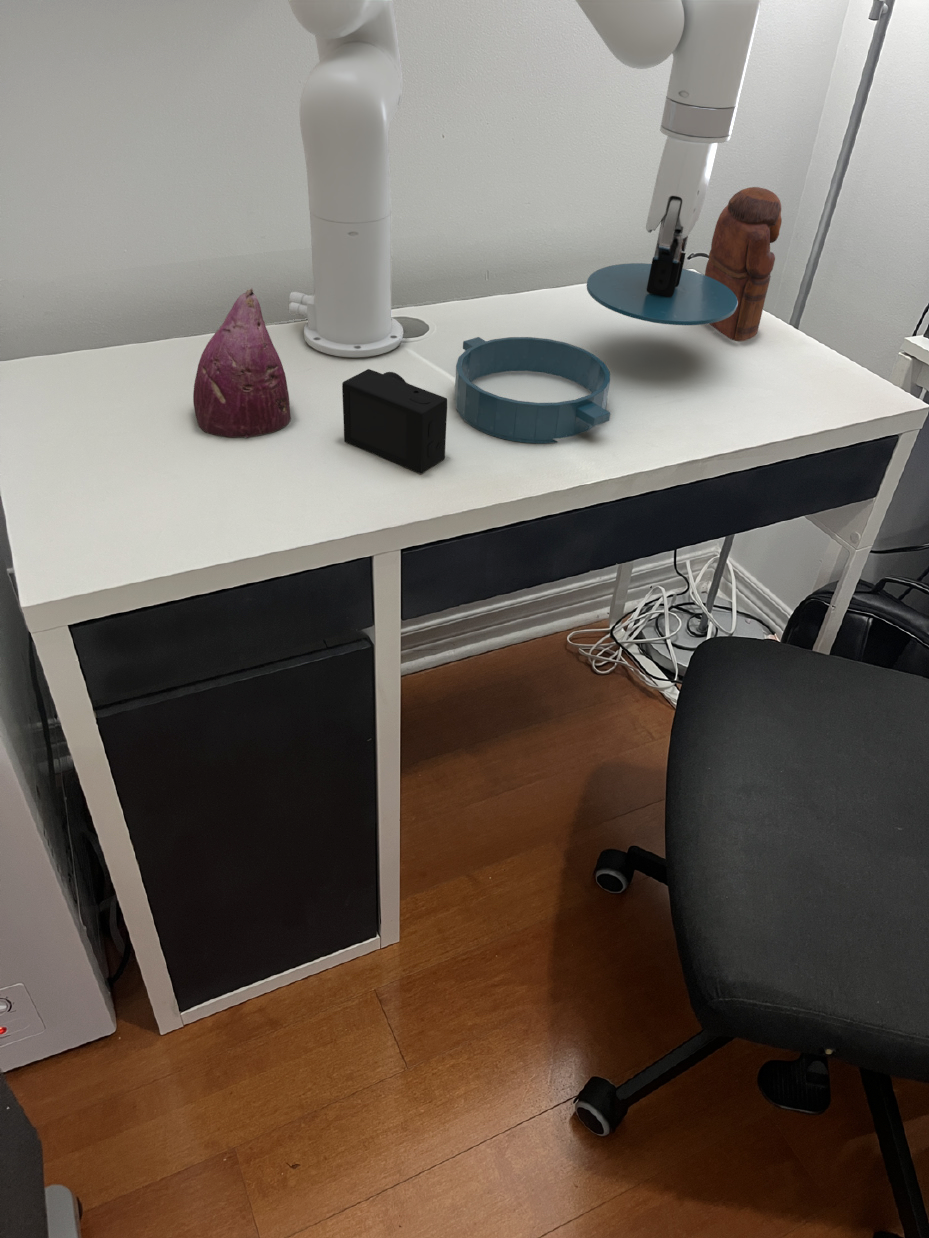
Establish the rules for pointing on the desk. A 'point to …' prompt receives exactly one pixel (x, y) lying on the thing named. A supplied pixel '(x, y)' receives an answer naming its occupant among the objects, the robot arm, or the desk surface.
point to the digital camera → (394, 419)
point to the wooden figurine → (745, 257)
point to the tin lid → (688, 305)
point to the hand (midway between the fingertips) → (662, 288)
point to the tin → (530, 417)
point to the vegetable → (241, 377)
